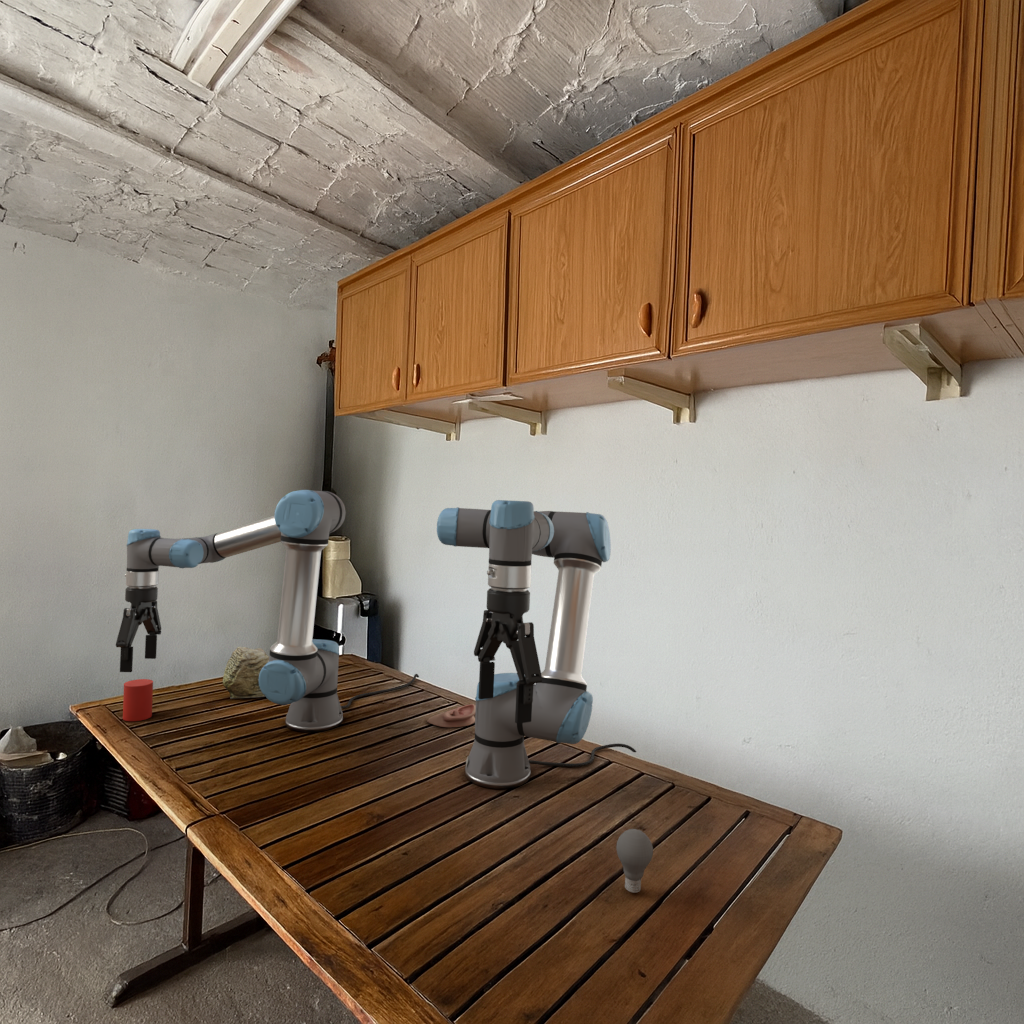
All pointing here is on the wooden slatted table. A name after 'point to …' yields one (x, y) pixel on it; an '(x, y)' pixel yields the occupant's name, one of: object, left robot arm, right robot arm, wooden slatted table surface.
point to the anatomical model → (455, 717)
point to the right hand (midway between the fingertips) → (503, 709)
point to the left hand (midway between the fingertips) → (138, 665)
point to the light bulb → (634, 857)
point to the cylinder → (137, 700)
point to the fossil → (244, 672)
